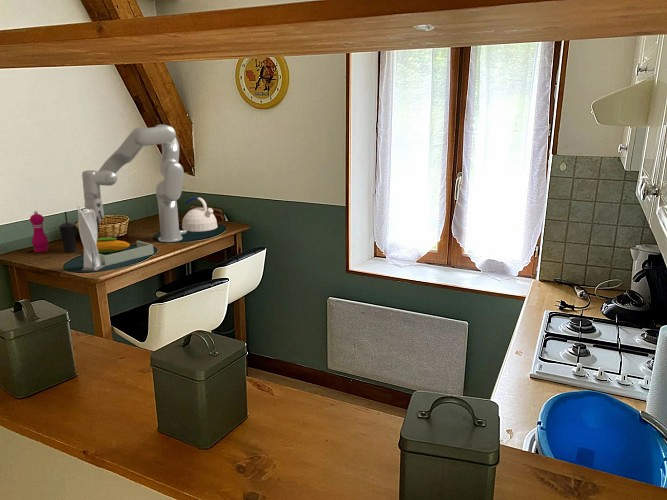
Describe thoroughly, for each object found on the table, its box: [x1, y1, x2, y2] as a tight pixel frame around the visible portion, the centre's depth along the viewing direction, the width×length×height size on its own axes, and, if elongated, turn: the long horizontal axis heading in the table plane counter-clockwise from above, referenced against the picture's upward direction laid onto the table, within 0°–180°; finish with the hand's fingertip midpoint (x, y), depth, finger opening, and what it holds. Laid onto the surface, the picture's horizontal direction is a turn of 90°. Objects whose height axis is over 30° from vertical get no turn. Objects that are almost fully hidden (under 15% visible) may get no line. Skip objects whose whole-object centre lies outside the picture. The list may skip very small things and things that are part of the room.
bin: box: [99, 240, 155, 267], centre depth 265 cm, size 25×13×5 cm, turn 142°
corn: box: [96, 237, 131, 254], centre depth 274 cm, size 7×8×20 cm
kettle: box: [181, 196, 218, 233], centre depth 323 cm, size 20×21×18 cm
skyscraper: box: [76, 205, 106, 272], centre depth 246 cm, size 8×8×28 cm
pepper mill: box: [29, 210, 49, 253], centre depth 274 cm, size 7×7×20 cm
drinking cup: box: [57, 211, 77, 254], centre depth 272 cm, size 8×8×20 cm
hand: (95, 232), depth 277 cm, fingers closed
